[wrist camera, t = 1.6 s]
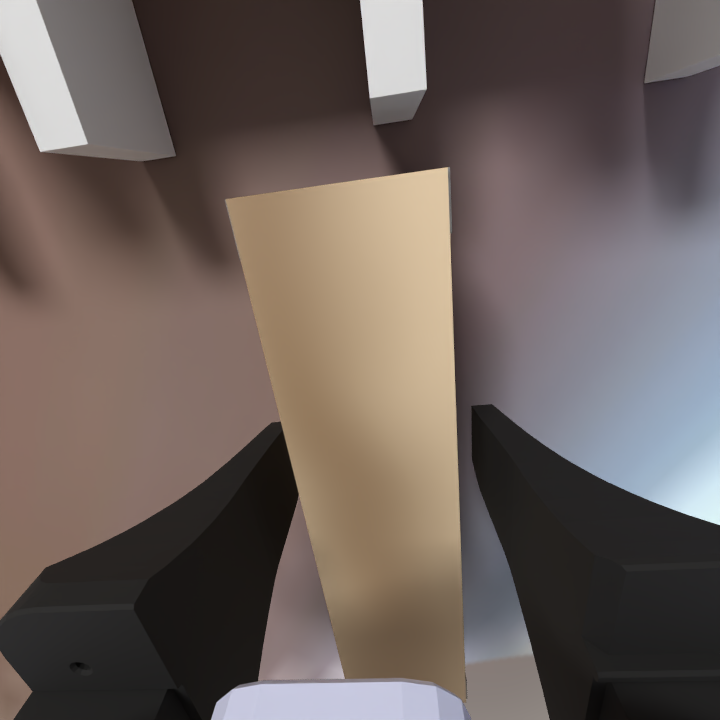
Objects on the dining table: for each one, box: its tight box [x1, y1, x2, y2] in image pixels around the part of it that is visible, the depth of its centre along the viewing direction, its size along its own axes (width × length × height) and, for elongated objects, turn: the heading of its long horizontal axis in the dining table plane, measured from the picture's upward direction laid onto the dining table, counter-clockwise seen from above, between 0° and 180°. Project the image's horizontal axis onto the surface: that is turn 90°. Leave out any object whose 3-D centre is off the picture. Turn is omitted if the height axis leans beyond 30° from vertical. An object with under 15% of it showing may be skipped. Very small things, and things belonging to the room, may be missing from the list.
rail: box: [225, 167, 467, 703], centre depth 12 cm, size 4×15×5 cm, turn 7°
